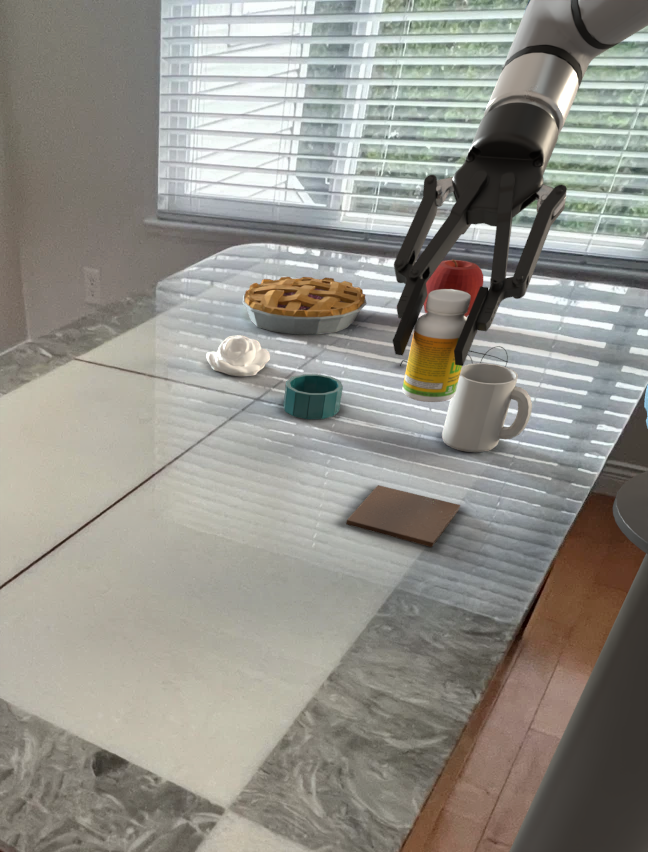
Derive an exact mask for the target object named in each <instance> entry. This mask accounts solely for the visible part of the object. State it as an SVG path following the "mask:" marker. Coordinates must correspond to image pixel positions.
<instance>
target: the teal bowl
mask: <svg viewBox="0 0 648 852" xmlns="http://www.w3.org/2000/svg"><path fill="white" fill-rule="evenodd" d="M343 387H344V386H343V383H342V381H341V380H339V379H337V378H336V377H333V376H329V375H326V374H321V373H320V374H318V373H308V374H307V373H305V374H300V375H295V376H291V377H290V378H289V379H288V380H286V381H285V387H284V396H283V405H282V406H283V407H282V408H283V410H284V412H285V413H286V414H288V415H290V416H291V417H294V418H299V419H304V420H324V419H328V418H332V417H335V416H336V415H337V414H338V413H339V412H340V407H341V402H342V396H343Z"/></svg>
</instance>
